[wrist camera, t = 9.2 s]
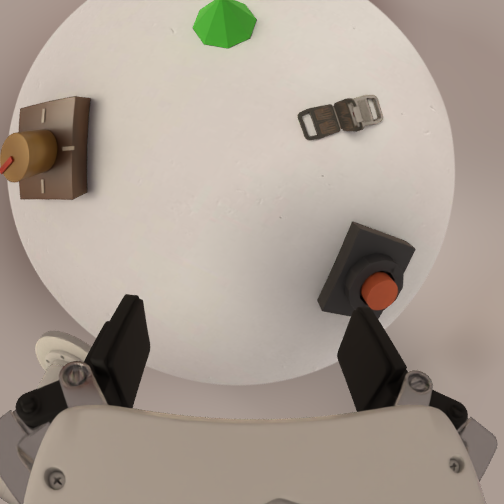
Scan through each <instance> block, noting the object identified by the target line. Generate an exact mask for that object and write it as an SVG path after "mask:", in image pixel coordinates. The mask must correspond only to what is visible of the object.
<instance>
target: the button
mask: <svg viewBox="0 0 504 504" xmlns="http://www.w3.org/2000/svg"><path fill="white" fill-rule="evenodd" d="M397 293H398V287H397V285H396V283H395V282H394V281H393V280H392V279H391V278H390V276H389V275H388V274H386V273H384V272H377V273H374V274H372V275H371V276H369V277H368V278H367V279H366V280H365V282H364V283H363V285H362V289H361V294H362V297H363V298H364V300H365V301H366V303H367V304H368V306H369V307H370V308H371V309H373V310H382V309H385V308H387V307H388V306H390V305H391V304H392V303H393V301H394V300H395V298H396V296H397Z"/></svg>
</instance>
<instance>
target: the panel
mask: <svg viewBox="0 0 504 504" xmlns="http://www.w3.org/2000/svg"><path fill="white" fill-rule="evenodd" d="M89 108H90V98H85V97H77V96H74V97H68V98H63V99H58V100H53V101H49V102H44V103H40V104H36V105H32V106H28V107H24V108H21V109H20V118H19V132H25V131H33V130H42V129H46V130H49V131H50V132H51V133H52V134H53V135H54V136H55V139H56V142H57V156H56V160H55V162H54V164H53V166H52V167H51V168H50V169H49V170H48V171H46V172H44V173H41V174H38V175H35V176H32V177H29V178H26V179H24V180H21V181H19V187H20V199H67V200H73V199H75V198H77V197H79V196H81V195H83V194H85V193H87V134H88V119H89Z"/></svg>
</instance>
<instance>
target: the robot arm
mask: <svg viewBox="0 0 504 504" xmlns="http://www.w3.org/2000/svg"><path fill="white" fill-rule="evenodd" d="M149 352H150V341H149V335H148V330H147V324H146V318H145V311H144V305H143V300H142V299H139V297H138V296H137V295H128V294H126V295H125V296H124V297H123V299H122V301H121V302H120V304H119V306H118V308H117V309H116V311H115V313H114V315H113V316H112V318H111V320H110V321H107V322H106V323H105V324H104V326H103V327H102V329H101V331H100V333H99V335H98V336H97V338H96V340H95V342H94V344H93V346H92V347H91V349H90V351H89V353H88V355H87V357H86V359H85V361H82V360H81V359H79V358H78V357H76V356H74V355H72V354H70V353H68V352H65V351H62V350H51V351H49V352H48V353H47V355H46V357H45V364H46V367H47V371H46V373H45V375H44V376H43V378H42V380H41V382H40V384H39V385H38V387H37V389H36V390H33V391H31V392H28V393H25V394H23V395H22V396H21V397H20V398H19V399H18V401H17V403H16V410H15V411H13V412H12V411H11V410H10V411H9V412H7V413H6V414H5V415H3V416H2V417H1V418H0V498H1V499H3V500H4V501H6V502H7V503H9V504H486V502H485V498H484V495H483V492H482V488H481V486H480V483H479V482H480V480H481V478H482V476H483V475H484V473H485V471H486V469H487V467H488V465H489V463H490V461H491V459H492V457H493V455H494V453H495V451H496V448H497V440H496V437H495V436H494V435H493V434H492V433H491V432H489V431H488V430H487V429H486V428H484V427H483V426H482V425H481V424H479V423H478V422H477V421H476V420H474V419H473V418H472V417H470V418H469V419H468V418H467V417H468V414H467V410H466V408H465V407H464V405H463V404H461V403H460V402H458V401H456V400H454V399H451V398H449V397H447V396H445V395H443V394H440V393H438V392H436V391H434V390H432V388H433V384H432V381H431V379H430V378H429V376H428V375H426V374H425V373H423V372H421V371H415V370H413V371H410V372H408V371H407V370H406V368H407V367H406V365H405V363H404V361H403V360H402V358H401V356H400V355H399V353H398V351H397V350H396V348H395V346H394V345H393V343H392V341H391V340H390V338H389V336H388V335H387V333H386V331H385V330H384V328H383V327H382V325H381V323H380V322H379V320H378V319H377V317H376V316H375V314H374V312H373V311H372V309H371V308H370V307H357V308H356V310H354V311H353V312H352V315H351V318H350V321H349V323H348V326H347V329H346V332H345V334H344V337H343V340H342V342H341V345H340V347H339V350H338V354H337V357H338V361H339V364H340V366H341V369H342V371H343V374H344V376H345V379H346V382H347V385H348V388H349V390H350V393H351V396H352V399H353V401H354V404H355V407H356V410H357V412H353V413H345V414H338V415H329V416H320V417H308V418H291V419H221V418H206V417H194V416H184V415H175V414H166V413H159V412H152V411H145V410H139V409H133V404H134V401H135V397H136V394H137V390H138V387H139V384H140V381H141V377H142V374H143V371H144V368H145V365H146V361H147V358H148V355H149Z"/></svg>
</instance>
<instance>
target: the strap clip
mask: <svg viewBox="0 0 504 504" xmlns="http://www.w3.org/2000/svg"><path fill="white" fill-rule="evenodd" d="M367 99H372V100H373V103H374V106H375V109H376V113H377V116H378V118H377V119H375V120H373V116H372V113H371V110H370V107H369V104H368V101H367ZM306 113H310V115H311V118H312V121H313V124H314V127H315V130H316V133H317V135H316V136H310V137H309V136H308V134H307V131H306V128H305V125H304V122H303V120H302V115H304V114H306ZM298 119H299V122H300V125H301V128H302V131H303V133H304V136H305V138H306V139H307V140H314V139H320V138H323V137H325V136H328V135H331V134H334V133H337V132H339V131H340V128H341V129H343V130H344V131H360V130H363V129H364V127H365V126H368V125H373V124H377V123H379V122H381V121H382V120H383V115H382V111H381V108H380V105H379V102H378V99H377V97H376V96H375V95H364V96H360V97H357V98H353V99H351V98H348V99H344V100H342V101H339V102H337V103H335V104H334V106H332V105H324V106H319V107H314V108H309V109H306V110H304V111H302V112H300V113H299V114H298Z"/></svg>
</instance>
